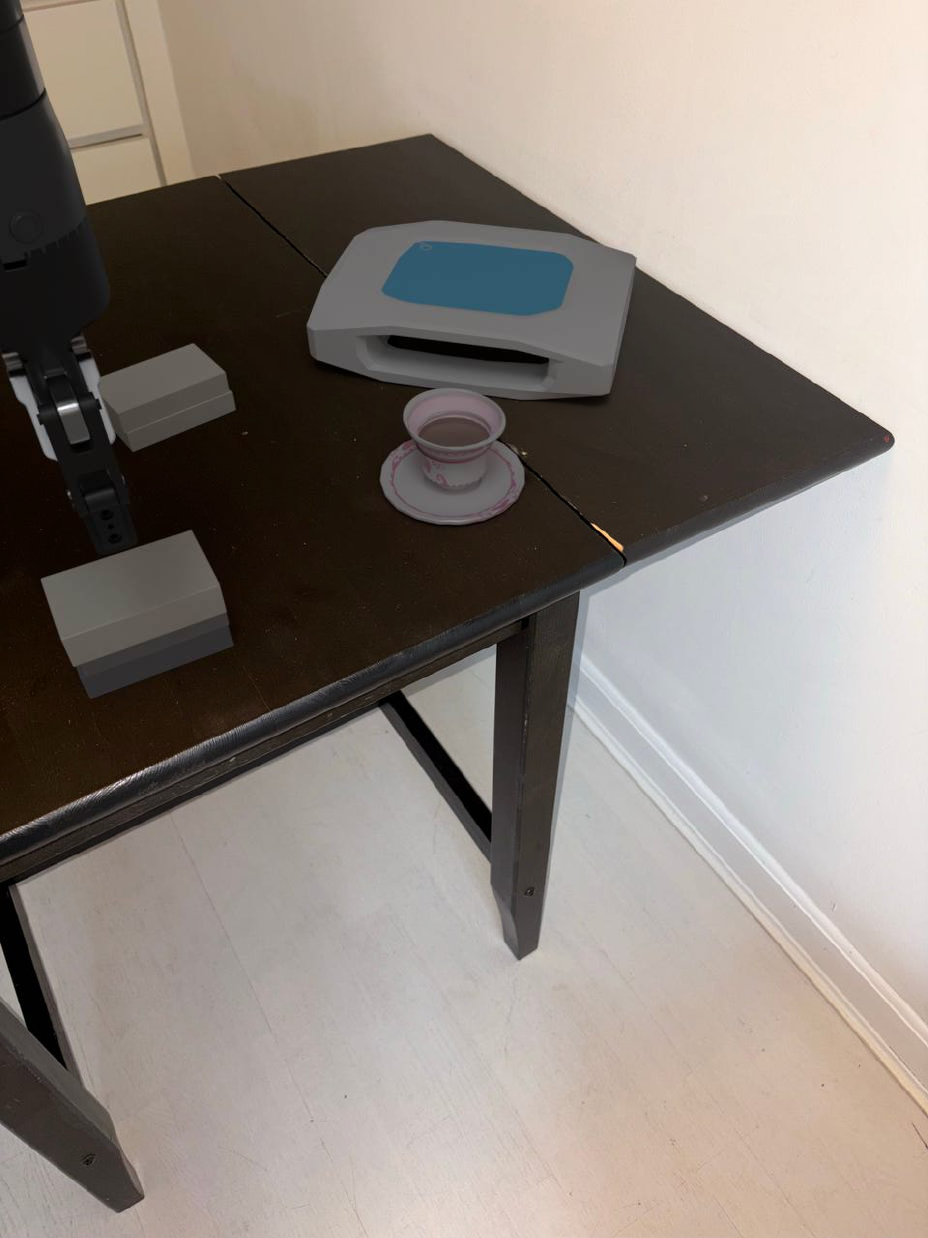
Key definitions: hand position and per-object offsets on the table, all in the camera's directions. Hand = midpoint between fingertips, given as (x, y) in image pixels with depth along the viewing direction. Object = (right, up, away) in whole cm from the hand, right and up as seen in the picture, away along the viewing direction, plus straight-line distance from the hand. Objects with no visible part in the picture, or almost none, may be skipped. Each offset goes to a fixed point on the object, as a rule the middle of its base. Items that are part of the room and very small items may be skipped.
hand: (99, 500), depth 53 cm
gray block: (-1, -9, +13) cm, 16 cm away
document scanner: (+22, +22, +42) cm, 52 cm away
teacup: (+19, +5, +26) cm, 33 cm away
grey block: (-6, +12, +32) cm, 35 cm away
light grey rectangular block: (-1, -6, +10) cm, 12 cm away
